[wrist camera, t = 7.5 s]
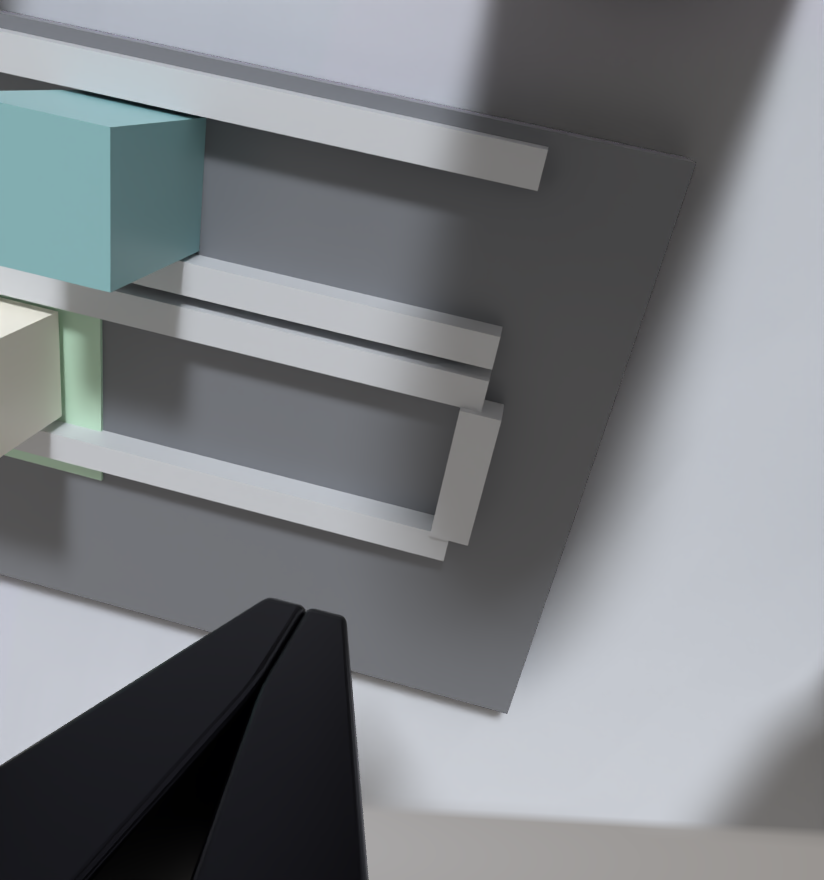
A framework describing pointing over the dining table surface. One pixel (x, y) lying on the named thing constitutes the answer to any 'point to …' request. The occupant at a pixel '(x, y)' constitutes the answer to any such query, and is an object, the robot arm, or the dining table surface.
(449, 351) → the console board
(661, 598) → the dining table surface
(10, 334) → the fader cap
